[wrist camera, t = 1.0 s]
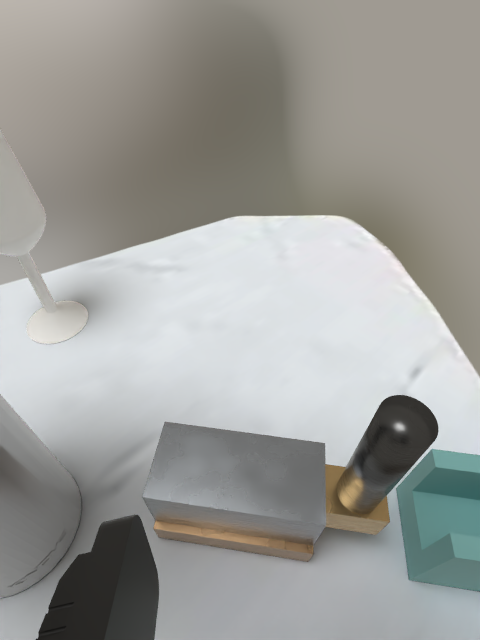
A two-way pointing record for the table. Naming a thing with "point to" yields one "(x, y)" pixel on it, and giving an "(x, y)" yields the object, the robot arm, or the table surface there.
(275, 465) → the sleeve
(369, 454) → the board with post
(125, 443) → the table surface
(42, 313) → the champagne flute
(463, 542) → the socket
